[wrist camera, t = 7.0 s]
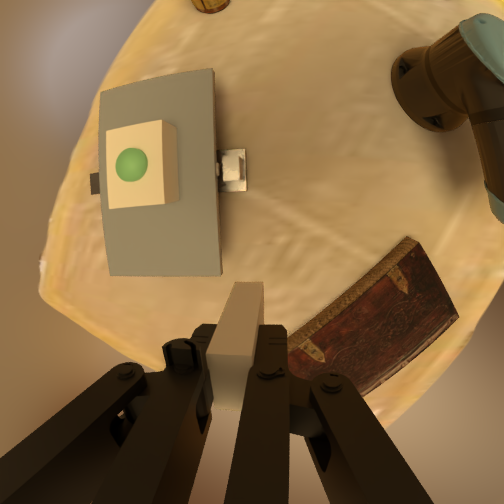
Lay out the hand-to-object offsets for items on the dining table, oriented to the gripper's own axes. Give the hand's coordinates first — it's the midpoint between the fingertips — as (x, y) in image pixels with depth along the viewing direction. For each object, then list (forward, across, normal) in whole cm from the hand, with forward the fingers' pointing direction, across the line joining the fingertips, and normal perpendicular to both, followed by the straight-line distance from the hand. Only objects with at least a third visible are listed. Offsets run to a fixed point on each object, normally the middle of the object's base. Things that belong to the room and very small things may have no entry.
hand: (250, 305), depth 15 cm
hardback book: (+28, +18, -19) cm, 38 cm away
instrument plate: (+20, -14, +8) cm, 25 cm away
